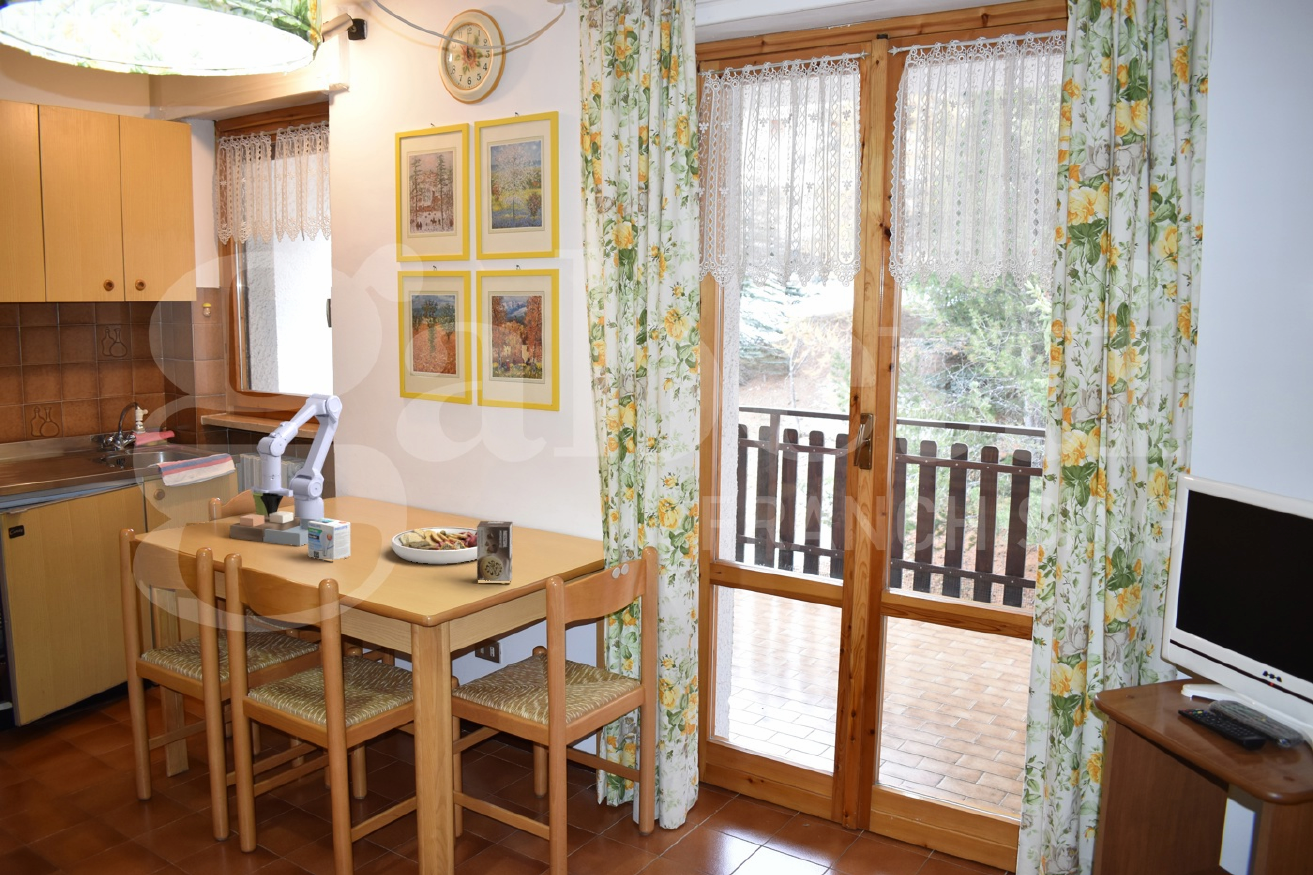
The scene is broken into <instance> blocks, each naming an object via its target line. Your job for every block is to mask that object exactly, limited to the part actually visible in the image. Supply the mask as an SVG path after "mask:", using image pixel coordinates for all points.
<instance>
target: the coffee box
mask: <svg viewBox="0 0 1313 875" xmlns="http://www.w3.org/2000/svg"><path fill="white" fill-rule="evenodd" d="M513 523H514V522H513V521H505V520H504V521H501V520H500V521H498V520H496V521H494V520H493V521H492V520H491V521H490V520H488V521H487V520H480V521H479V523H478V525H477V526H476V529H477V562H476V564H477V565H476V581H477V580H485V581H486V580H487V581H489V580H490V581H510V580H511V578H512V579H513ZM511 581H512V580H511Z"/></svg>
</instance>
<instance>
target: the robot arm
mask: <svg viewBox="0 0 1313 875" xmlns="http://www.w3.org/2000/svg"><path fill="white" fill-rule="evenodd" d="M339 397H340V396H337V395H335V394H334V395H333V394H332V395H330V394H329V395H328V394H320V393H312V394H310V395H309V397H308V398H306V399H305V404H304V405H303V406H302V407H301V408H300V410H298V411H297V413H296V414H295V415H294V416H293V417H292V418H291V419H290V421H286V420H285V421H281V422H280V423H279V424H278V427H277V428H275V430H273V431H272V432H270V433H269V435H268V436H264V437H262V438H261V439H260V440H259V441H258V444H257V446H256V450H257V452H258V454H259V458H260V460H261V462H260V463H261V485H260V486H259V485H254V486H250V493H251V494H252V493H262V494H263V496H260V499H261V500H262V501H263V503H264V505H265V507H266V510H267V513H268V517H270V514H271V513H275V512H278V509H279V506H280V504H281V502H282V499H284V496H285V497H286V498H287V497H288V498H290V497H292V498H294V499H293V500H294V503H293V504H294V506H293V507H294V517H300V525H301V518H309V519H322V518H325V502H324V500H323V498H322V497H320V496H321V494H322V492H323V486H324V485H323V484H324V480H325V478H324V476H323V475H322V473H321V471H322V469H323V466H324V463H325V460H326V458H327V456H328V452H329V450H330V447H331V444H332V442H333V440H334V439H333V438H334V437H335V434H336V431H337V429H338V426H339V419H340V415H341V413H342V410H343V404H342V401H341V399H340V398H339ZM313 417H315V419H316V420H317V421H318V422H319V426H318V428H317V431H316V433H315V437H314V439H313V442H312V444H311V447H310V450H309V452H308V455H307V456H306V457H307V458H306V460H305V463H304V464H303V465H304V466H303V467H301V468H300V469H299V470H297V471H296V472H295V474H294V476H293V478H292V479H290V481H289V484H288V488H284V487H282V458H281V457H282V455H283V454H284V453H285V451H286V447H287V446H288V444H289V443H290V442H291V441H292V440H293V439H294V438H295V437H296V436H297V435H298V434H299V428H300V427H302V426H303V425H304V424H305V423H306V422H308V421H309V420H310V419H311V418H313Z"/></svg>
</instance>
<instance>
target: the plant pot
mask: <svg viewBox="0 0 1313 875" xmlns="http://www.w3.org/2000/svg"><path fill="white" fill-rule="evenodd" d="M251 495H252V499H253V500H254V505H255V510H256V515H267V514H268V513H267V510H266V507H265V505H264V503H263V501H262V500H261V499H260V496H263V494H262V493H251Z"/></svg>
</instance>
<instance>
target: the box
mask: <svg viewBox="0 0 1313 875" xmlns="http://www.w3.org/2000/svg"><path fill="white" fill-rule="evenodd" d="M314 520H318V519H309V518H301V525H300V526H297V527H294V528H290V529H287V530H284V531H279V530H270V529H265V537H263V543H268V542H270V544H276V543H277V544H278V545H284V544H292V545H298V546H297V547H302V546H301V545H303V546H305V545H304V544H306V545H308V522H309V521H314ZM292 545H291V546H292Z"/></svg>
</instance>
